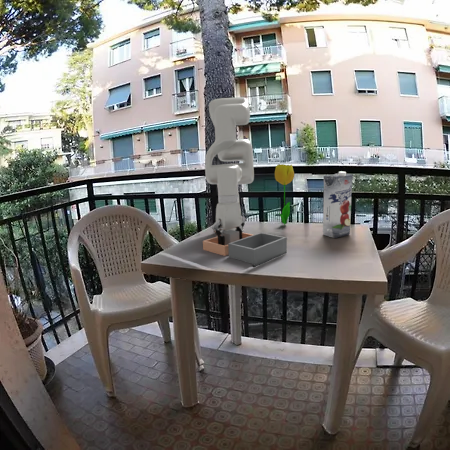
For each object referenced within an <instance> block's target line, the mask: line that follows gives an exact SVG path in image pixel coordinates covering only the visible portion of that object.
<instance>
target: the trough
mask: <svg viewBox="0 0 450 450" xmlns="http://www.w3.org/2000/svg"><path fill="white" fill-rule="evenodd" d="M252 235H254V234H253V233H247V232H244V231H242V239H243V238H246V237H249V236H252ZM202 248H203V249H202V250H203V251H206V252H210V253H213V254H217V255H220V256H222V257H223V256H229V249H228V245H225V246H224V245H220V244H218V235H216V236H214V237H211V238H208V239H205V240H202Z"/></svg>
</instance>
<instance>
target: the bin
mask: <svg viewBox="0 0 450 450" xmlns="http://www.w3.org/2000/svg"><path fill="white" fill-rule="evenodd" d="M287 240H288V238H287V237H286V236H281V235H276V234H271V233H266V232H258V233H255V234H253V235H252V236H249V237H246V238H243V239H240V240H237V241H234V242H231V243H228V249H229V255H228V258H230V259H234V260H237V261H241V262H245V263H249V264H252V265H251V267H253V268H255V267H258V266H261V265H263V264H266V263H267V262H269V261H272V260H274V259H277V258H279V257H282V256H283V255H286V254H287V248H288V247H287V244H288V243H287Z"/></svg>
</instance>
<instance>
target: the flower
mask: <svg viewBox="0 0 450 450" xmlns="http://www.w3.org/2000/svg"><path fill="white" fill-rule="evenodd" d="M294 178H295V171H294V168H293V164H290V165H289V164H287V165H286V164H284V163H283V164H282V163H281V164H277V165H276V166H275V170H274V179H275V181H276V182H278V183H279V184H281V185H282V186H283V193H284V194H283V202H284V203H283V208H282V211H281V213H280V212H279V213H278V214H279V215H280V219H281V223H282V224H283V225H286V224H288V219H289V217H290V213H291V206H290V205H291V202H290V201H288V202H287V203H286V186H287V185H288V184H290V183H291V182H292V181H293V180H294Z"/></svg>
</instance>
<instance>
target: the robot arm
mask: <svg viewBox="0 0 450 450" xmlns="http://www.w3.org/2000/svg"><path fill="white" fill-rule="evenodd" d="M250 109H251V108H250V105H249V102H248V99H247V98H246V97H243V96H241V97H222V98H215V99H212V100H211V101H209V104H208V110H209V111H208V112H209V116H210V118H211V119H210V120H211V122H212V124H213V126H214V127H213V128H214V137H215V140H214V142H213V143H212V144H211V146H210V147H209V148H208V150H207V152H206V155H205V159H204V160H205V161H204V163H205V164H204V168H205V169H204V172H205V173H204V174H205V179H206V182H207V183H208V184H210V185H217V196H218V199H217V200H218V203H217V204H216V208H215V222H214V223H213V224H212V225H211V228H212V231H213V233H214V234H215V235H216V236H218V244H220V245H224V246H225V237H224V236H223V234H224V232H225V231H227V230H234V231H239V240H240V239H242V232H244V230H245V229H244V227H245V223H246V220H247V219H246V217H245V216H242V211H241V205H240V194H239V187H238V186H239V185H248V184H252V183H253V182H254V180H255V170H254V169H255V168H254V152H253V145H252V142H251V141H250V140H249V139H245V138H244V139H242V138H241V139H237V131H236V130H237V129H236V126H245V125H246V126H247V125H248V124H249V122H250V119H251V110H250ZM216 156H217V157H218V160H220V162H233V163H224V164H223V163H222V164H213V160H214V158H215V157H216ZM234 162H238V163H234Z"/></svg>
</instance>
